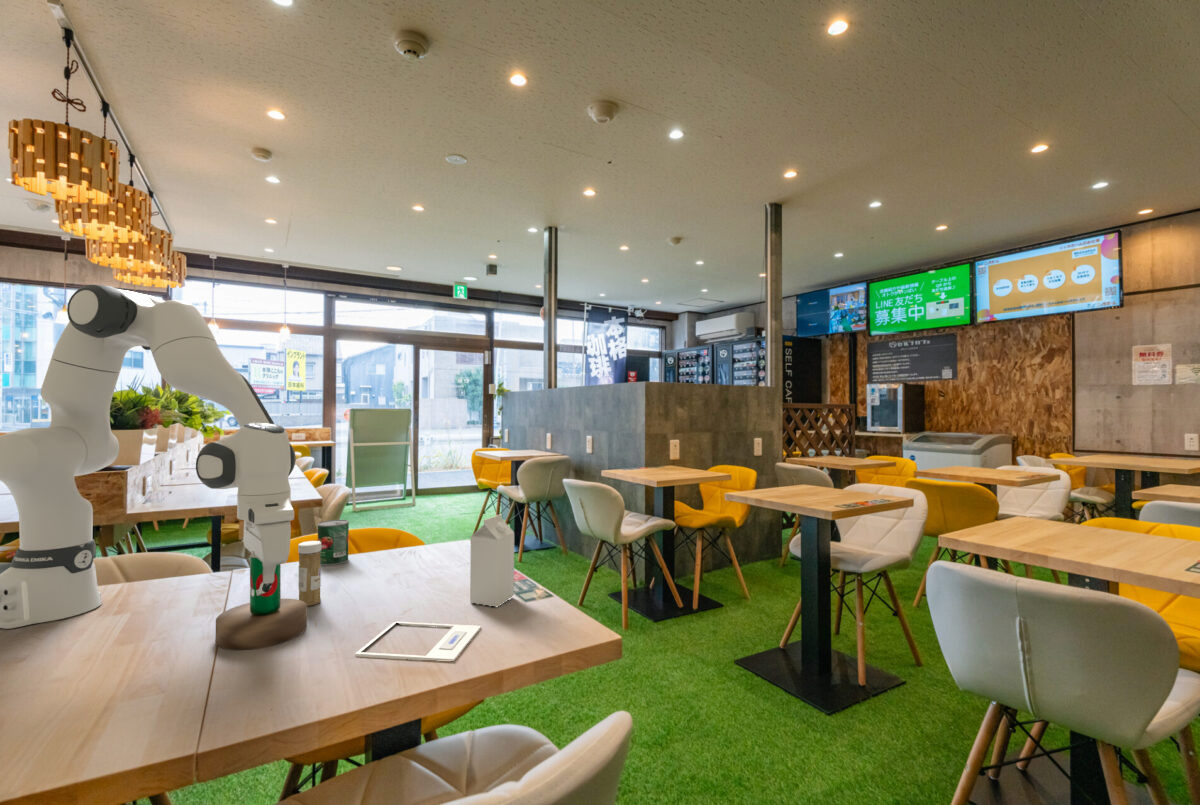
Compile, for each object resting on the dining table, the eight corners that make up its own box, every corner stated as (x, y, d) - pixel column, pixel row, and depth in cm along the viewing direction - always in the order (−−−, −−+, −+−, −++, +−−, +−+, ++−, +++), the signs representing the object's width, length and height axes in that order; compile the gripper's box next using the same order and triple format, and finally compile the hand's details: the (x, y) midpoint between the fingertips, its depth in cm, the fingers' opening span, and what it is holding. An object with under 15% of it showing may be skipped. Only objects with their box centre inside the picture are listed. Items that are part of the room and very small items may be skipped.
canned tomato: (310, 564, 152) (311, 524, 152) (329, 557, 160) (329, 518, 160) (337, 566, 151) (337, 526, 151) (354, 558, 159) (354, 520, 159)
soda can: (286, 608, 109) (286, 547, 109) (265, 617, 104) (265, 553, 104) (265, 606, 110) (265, 545, 110) (243, 615, 105) (243, 552, 106)
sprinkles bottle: (322, 604, 123) (322, 543, 123) (298, 608, 120) (299, 546, 120) (319, 598, 126) (320, 539, 126) (296, 602, 124) (297, 541, 124)
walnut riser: (195, 648, 100) (195, 626, 100) (250, 617, 115) (251, 597, 115) (276, 651, 99) (276, 628, 99) (321, 618, 114) (321, 599, 114)
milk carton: (469, 603, 124) (470, 518, 124) (487, 593, 130) (488, 512, 130) (497, 608, 121) (497, 521, 121) (514, 598, 128) (514, 515, 128)
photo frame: (453, 658, 96) (355, 652, 98) (453, 664, 96) (354, 658, 98) (481, 624, 110) (394, 620, 112) (481, 630, 110) (394, 626, 112)
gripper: (234, 502, 113) (234, 570, 113) (257, 516, 98) (257, 595, 98) (270, 498, 117) (270, 564, 117) (296, 512, 102) (296, 587, 102)
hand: (264, 578), depth 107 cm, fingers closed on soda can, 4 cm apart
